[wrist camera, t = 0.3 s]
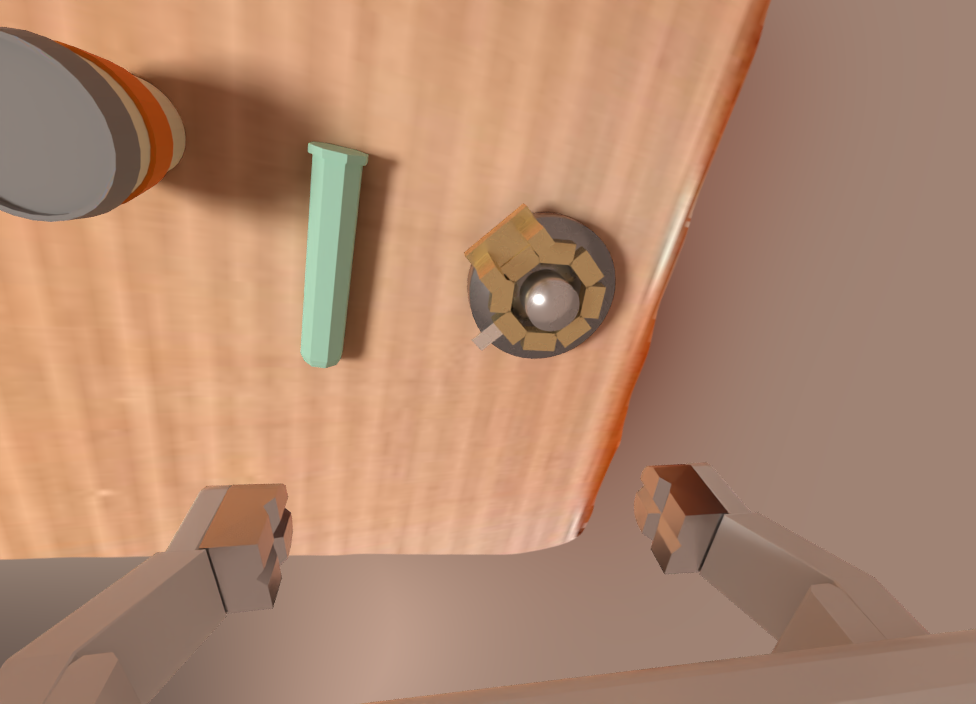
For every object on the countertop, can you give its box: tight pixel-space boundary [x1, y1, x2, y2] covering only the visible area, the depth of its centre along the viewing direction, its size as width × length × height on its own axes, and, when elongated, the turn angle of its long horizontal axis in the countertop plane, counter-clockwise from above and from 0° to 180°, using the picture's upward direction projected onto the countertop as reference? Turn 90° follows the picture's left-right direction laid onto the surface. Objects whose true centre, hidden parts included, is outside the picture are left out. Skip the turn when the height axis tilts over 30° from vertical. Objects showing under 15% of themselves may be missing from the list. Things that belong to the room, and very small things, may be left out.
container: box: [301, 141, 369, 368], centre depth 51 cm, size 6×6×25 cm
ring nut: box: [464, 203, 606, 351], centre depth 51 cm, size 17×13×7 cm
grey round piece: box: [467, 212, 615, 359], centre depth 54 cm, size 18×18×8 cm
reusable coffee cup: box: [0, 27, 186, 222], centre depth 38 cm, size 12×13×15 cm
